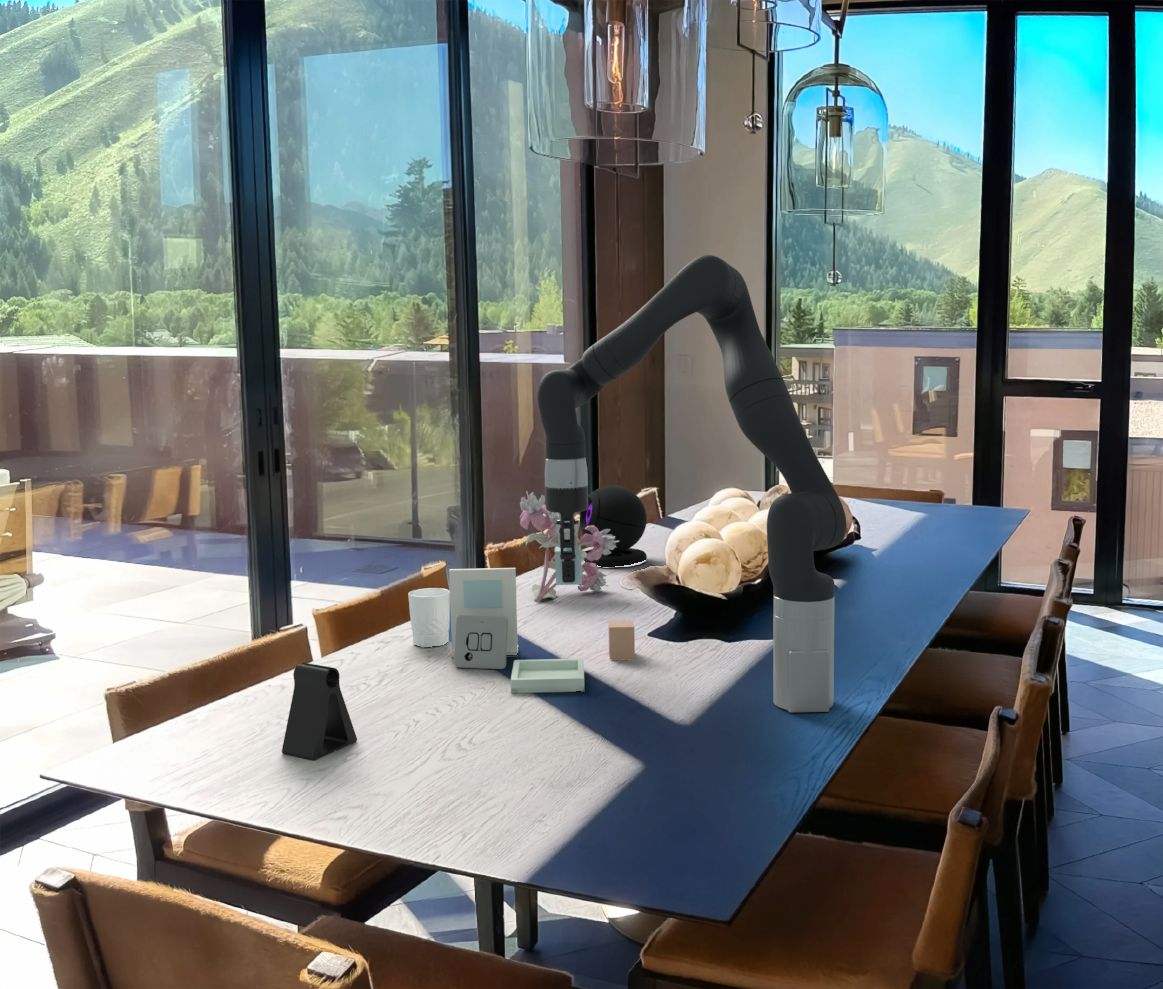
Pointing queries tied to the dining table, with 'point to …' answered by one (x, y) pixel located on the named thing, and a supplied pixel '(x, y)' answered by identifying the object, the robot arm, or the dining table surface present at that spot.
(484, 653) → the electrical switch
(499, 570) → the placard
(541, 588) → the flower
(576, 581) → the blue block
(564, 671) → the tray
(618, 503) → the webcam
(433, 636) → the white cup
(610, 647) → the terracotta block
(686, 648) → the dining table surface
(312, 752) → the black triangular stand
